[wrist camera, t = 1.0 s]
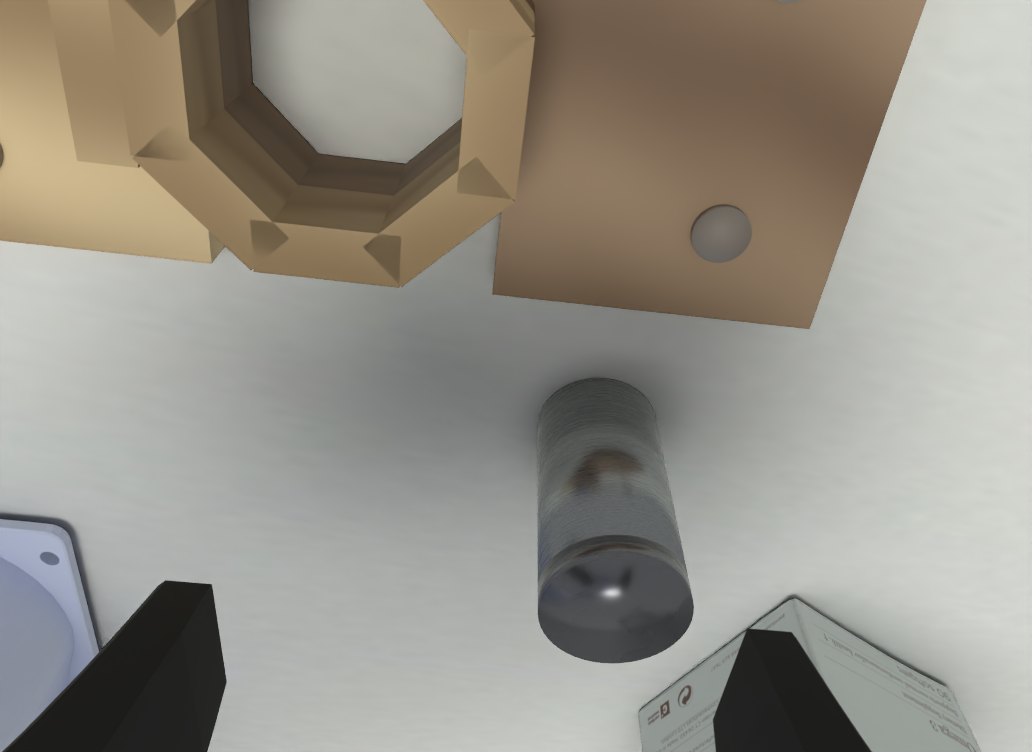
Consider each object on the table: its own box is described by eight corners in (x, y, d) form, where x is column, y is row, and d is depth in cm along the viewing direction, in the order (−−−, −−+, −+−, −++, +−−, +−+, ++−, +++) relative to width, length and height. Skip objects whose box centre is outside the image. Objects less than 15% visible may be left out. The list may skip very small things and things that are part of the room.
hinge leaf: (503, 274, 19) (497, 359, 16) (-97, 208, 18) (-222, 283, 15) (559, -210, 14) (565, -222, 11) (-262, -323, 13) (-498, -369, 10)
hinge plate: (797, 307, 19) (819, 348, 18) (217, 243, 18) (189, 279, 17) (954, -155, 14) (1005, -154, 13) (170, -264, 14) (123, -276, 12)
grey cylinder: (642, 478, 22) (674, 668, 17) (530, 466, 22) (528, 655, 17) (666, 384, 20) (710, 566, 15) (545, 371, 20) (548, 550, 15)
